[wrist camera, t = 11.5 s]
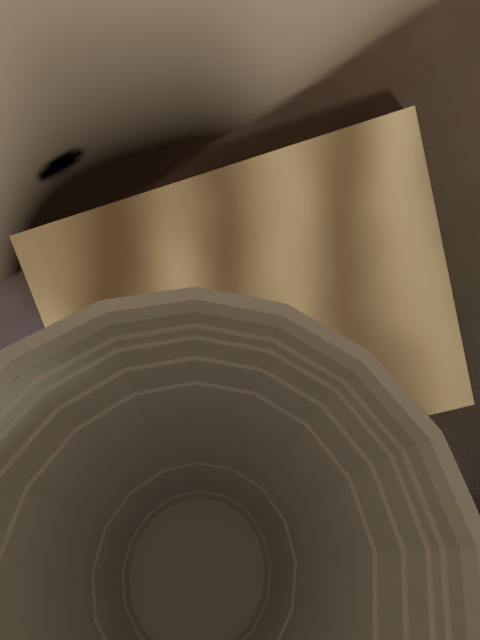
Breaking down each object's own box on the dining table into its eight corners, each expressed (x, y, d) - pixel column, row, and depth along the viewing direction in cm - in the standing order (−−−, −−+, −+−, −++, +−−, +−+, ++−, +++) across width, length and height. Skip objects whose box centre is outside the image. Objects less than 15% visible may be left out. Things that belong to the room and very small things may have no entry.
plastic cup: (100, 854, 13) (-299, 1866, 3) (32, 503, 18) (-198, 392, 8) (389, 658, 16) (715, 783, 6) (260, 405, 21) (313, 233, 11)
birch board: (406, 112, 22) (414, 105, 20) (464, 396, 24) (474, 404, 23) (21, 235, 24) (9, 236, 23) (115, 479, 27) (108, 490, 26)
